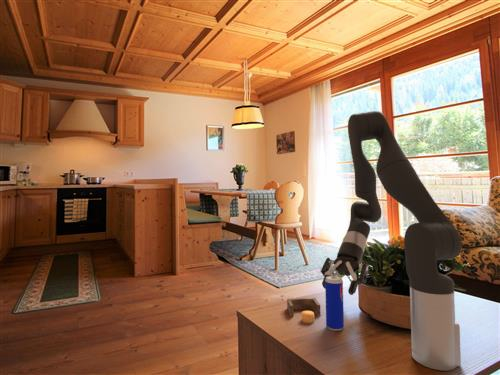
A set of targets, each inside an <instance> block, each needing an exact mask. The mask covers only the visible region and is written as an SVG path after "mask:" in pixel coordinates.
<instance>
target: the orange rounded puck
mask: <svg viewBox="0 0 500 375" xmlns="http://www.w3.org/2000/svg"><path fill="white" fill-rule="evenodd" d="M301 322H302V323H304V324H313V323H315V311H312V310H303V311H301Z"/></svg>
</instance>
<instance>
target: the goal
mask: <svg viewBox="0 0 500 375" xmlns="http://www.w3.org/2000/svg"><path fill="white" fill-rule="evenodd" d="M286 305H287V306H286V309H287V311H288V313H289V316H290V317H293V318H294V317H295V316H294V313H295V312H294V310H313V312H314V314H316V315H317V317H318V316H319V317H320V316H321V304H320V303H319V301H318V300H317V299H316V297H301V298H300V297H297V298H294V297H293V298H287V299H286Z"/></svg>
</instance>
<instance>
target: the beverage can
mask: <svg viewBox="0 0 500 375" xmlns="http://www.w3.org/2000/svg"><path fill="white" fill-rule="evenodd" d="M324 290H325V325H326V327H327V329H329V330H331V331H336V332H337V331H342V330H343V329H344V326H345V324H344V323H345V322H344V321H345V320H344V319H345V318H344V316H345V315H344V312H345V311H344V281H343V278H342V277H341V276H338V275H337V276H327V277H326V280H325V289H324Z"/></svg>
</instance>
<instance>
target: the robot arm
mask: <svg viewBox="0 0 500 375" xmlns="http://www.w3.org/2000/svg"><path fill="white" fill-rule="evenodd" d="M347 133H348V142H349V146H350V147H349V148H350V152H351V158H352V163H353V164H352V165H353V172H354V193H355V194H354V195H355V196H356V198H359V199H361V200H363V201H360V200H359V201H358V200H357V201H355V202H352V204H351V206H350V218H349V219H350V220H349V226H348V229H347V231H346V232H345V235H344V237H343V238H342V241H341V244H340V245H339V249H338V252H337V255H336V258H335V259H331V258H330V257H327V258H326V259H325V261H324V263H323V265H322V267H321V269H320V273H321V274H322V276H323V279H322V283H321V285H322V287H323V288H324V290H325V280H326V277H327V276H338V275H339V276H347V277H349V276H351V278H352V280H350V284H349V286H348V290H347V291H348V294H349V295H351V296H353V295H355V293H357V292H356V291H357V289H358V285H360V284H361V285H366V282H367V279H368V278H367V277H368V275H369V271H370V269H369V266H368V264H367V263H366V262H364V263H362V264H361V261H362V259H363V255H364V253H365V251H366V247H367V241H368V238H369V235H370V232H371V227H370V225H369V224H368V223H378V222H379V221H380V220H381V217H382V207H381V204H380V202H379V199H378V198H379V197H378V194H377V177H378V180H379V181H380V183H381V186H382V187H383V189H384V190H385V192H386V193H387V194H388V195H389V196H390V198H392V199H394V200H395V201H396V202H398V203H399V204H400V205H402V206H403V207H404V208H405V209H407V210H408V211H409V212H410V213H411V214H412V215H413V216H414V218H415V219H416V220H417V222H415V223H412V224H410V225H408V227H407V228H406V229H405V233H404V239H403V242H404V243H403V246H404V255H405V256H404V258H405V268H406V274H407V277H408V279H409V280H408V281H409V297H410V298H409V299H410V302H409V303H410V330H411V331H410V332H411V336H410V337H411V356H412V358H413V359H414V360H415V361H416V362H417V363H418V364H420V365H421V366H424V367H427V368H428V369H433V370H437V371H445V372H446V371H447V372H448V371H452V370H455V369H456V368H457V367H461V366H462V360H461V359H462V358H461V332H460V329H461V328H460V324H458V323H457V322H456V308H455V306H456V305H455V303H456V302H455V282H454V280H453V279H452V278H451V277H450V276H448V275H445V274H442V273H440V272H439V269H438V263H437V261H445V260H452V259H455V258H458V257H459V255H460V254H461V253H462V248H463V246H462V245H463V242H462V239H461V236H460V233H459V231H458V230H457V229H456V227H455V226H454V224H453V223H452V222H451V220H450V219H449V217H447V215H446V214H445V212H443V210H442V209H441V208H440V207H439V205H438V204H437V202H435V200H434V199H433V197H432V196H431V194H430V192H429V190H428V189H427V188H426V186H425V185H424V183H423V182H422V180H421V179H420V176H419V175H418V174H417V171H416V170H415V168H414V167H413V165H412V163H411V162H410V160H409V159H408V157H407V156H406V154H405V153H404V150H402V147H400V145H399V142H398V140H397V139H396V137H395V134H394V133H393V130H392V129H391V126H390V124H389V121H387V118H386V116H385V115H384V114H383V112H382V111H380V110H369V111H364V112H357V113H353V114H351V115H350V116H349V118H348V120H347ZM371 140H376V141H377V143H378V144H379V147H380V150H379V154H378V157H377V160H376V161H377V162H376V167H375V168H374V167H373V165H372V164H371V163H370V161H369V160H368V159H367V157H366V155H365V154H364V151H363V148H362V147H363V145H362V142H364V141H371ZM375 169H376V170H375ZM334 269H335V270H334ZM359 270H360V273H359V277H357V274H356V272H357V271H359Z"/></svg>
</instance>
